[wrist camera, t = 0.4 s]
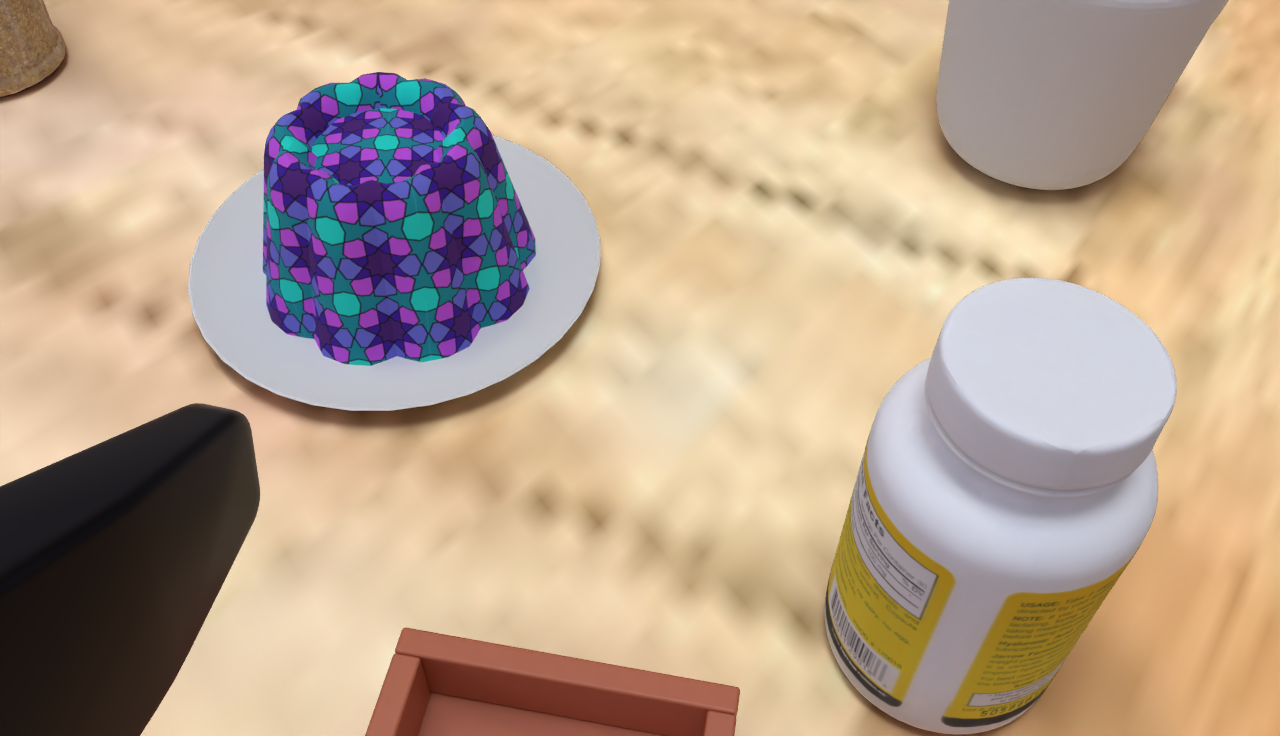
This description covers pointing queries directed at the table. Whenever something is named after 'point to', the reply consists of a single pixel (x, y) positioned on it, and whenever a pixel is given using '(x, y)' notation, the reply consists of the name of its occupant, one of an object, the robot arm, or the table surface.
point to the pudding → (391, 252)
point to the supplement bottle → (998, 503)
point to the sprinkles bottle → (27, 45)
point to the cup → (1061, 82)
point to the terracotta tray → (537, 695)
